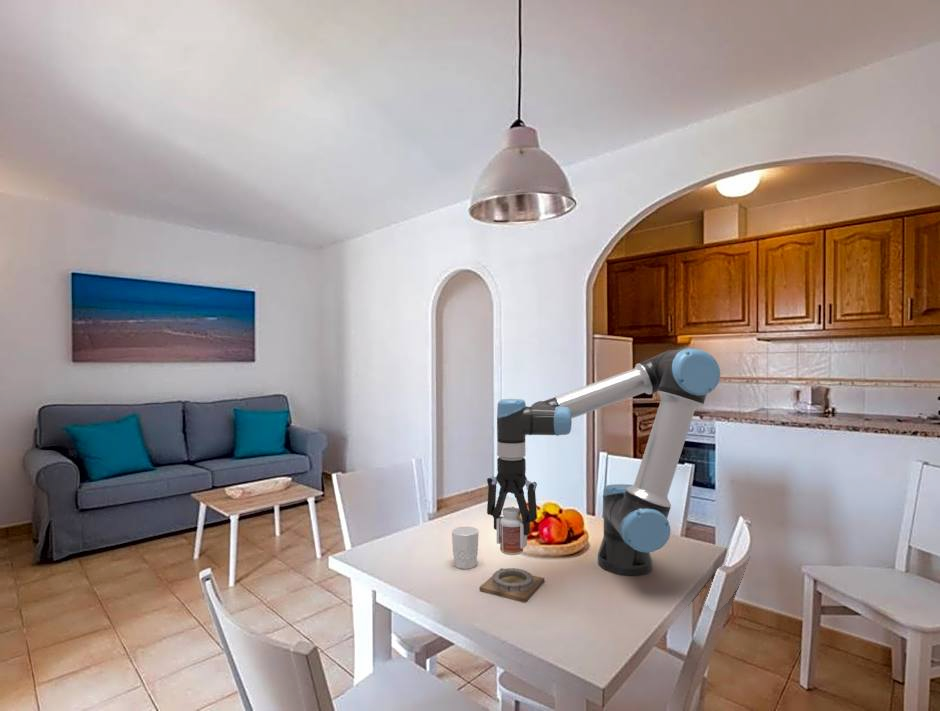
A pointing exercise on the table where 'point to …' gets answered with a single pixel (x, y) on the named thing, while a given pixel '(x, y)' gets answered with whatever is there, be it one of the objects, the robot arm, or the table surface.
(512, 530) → the pill bottle
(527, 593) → the socket base
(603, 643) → the table surface
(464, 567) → the white cup
